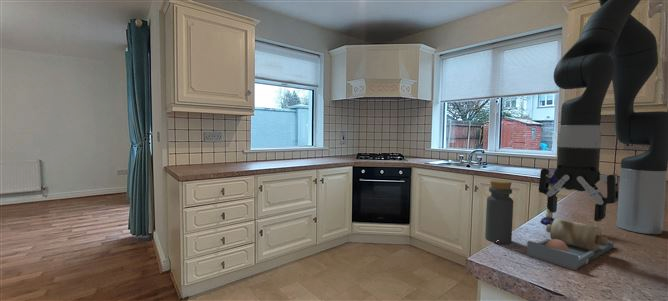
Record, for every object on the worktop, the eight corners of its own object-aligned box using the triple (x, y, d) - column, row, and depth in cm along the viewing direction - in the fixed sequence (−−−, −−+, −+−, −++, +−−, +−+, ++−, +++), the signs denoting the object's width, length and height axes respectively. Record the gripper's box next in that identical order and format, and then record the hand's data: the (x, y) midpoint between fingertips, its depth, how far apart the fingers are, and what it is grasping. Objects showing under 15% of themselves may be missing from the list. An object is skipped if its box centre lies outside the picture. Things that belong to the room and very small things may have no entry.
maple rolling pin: (542, 241, 75) (543, 218, 74) (552, 237, 78) (553, 215, 78) (600, 257, 65) (602, 231, 65) (609, 251, 69) (611, 227, 68)
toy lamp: (562, 224, 91) (565, 168, 90) (555, 227, 88) (559, 169, 87) (544, 220, 95) (546, 167, 94) (537, 223, 92) (540, 168, 91)
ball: (544, 258, 68) (551, 245, 69) (565, 265, 64) (572, 251, 66) (540, 245, 66) (548, 233, 68) (562, 251, 63) (569, 238, 64)
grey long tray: (568, 236, 81) (569, 225, 81) (613, 247, 74) (614, 234, 73) (526, 255, 68) (527, 241, 68) (575, 270, 61) (576, 255, 61)
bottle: (488, 234, 82) (490, 178, 81) (513, 239, 78) (516, 181, 77) (482, 240, 77) (485, 181, 76) (508, 246, 73) (511, 184, 72)
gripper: (625, 146, 66) (620, 221, 67) (549, 144, 77) (546, 207, 78) (614, 147, 61) (609, 227, 62) (536, 144, 73) (532, 211, 74)
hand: (574, 216), depth 70 cm, fingers open, 8 cm apart
